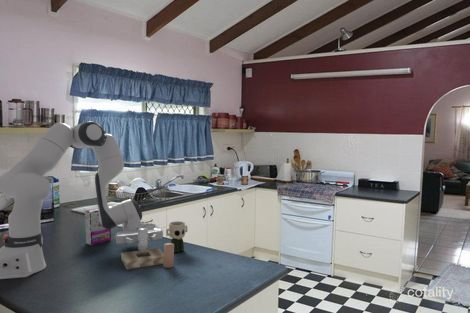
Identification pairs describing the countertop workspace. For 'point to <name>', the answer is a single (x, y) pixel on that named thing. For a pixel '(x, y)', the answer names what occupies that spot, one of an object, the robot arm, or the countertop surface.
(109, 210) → the robot arm
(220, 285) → the countertop surface
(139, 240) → the steel pin
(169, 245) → the terracotta pin
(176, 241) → the character mug
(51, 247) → the countertop surface
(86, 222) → the candy bar box
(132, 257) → the hole plate
